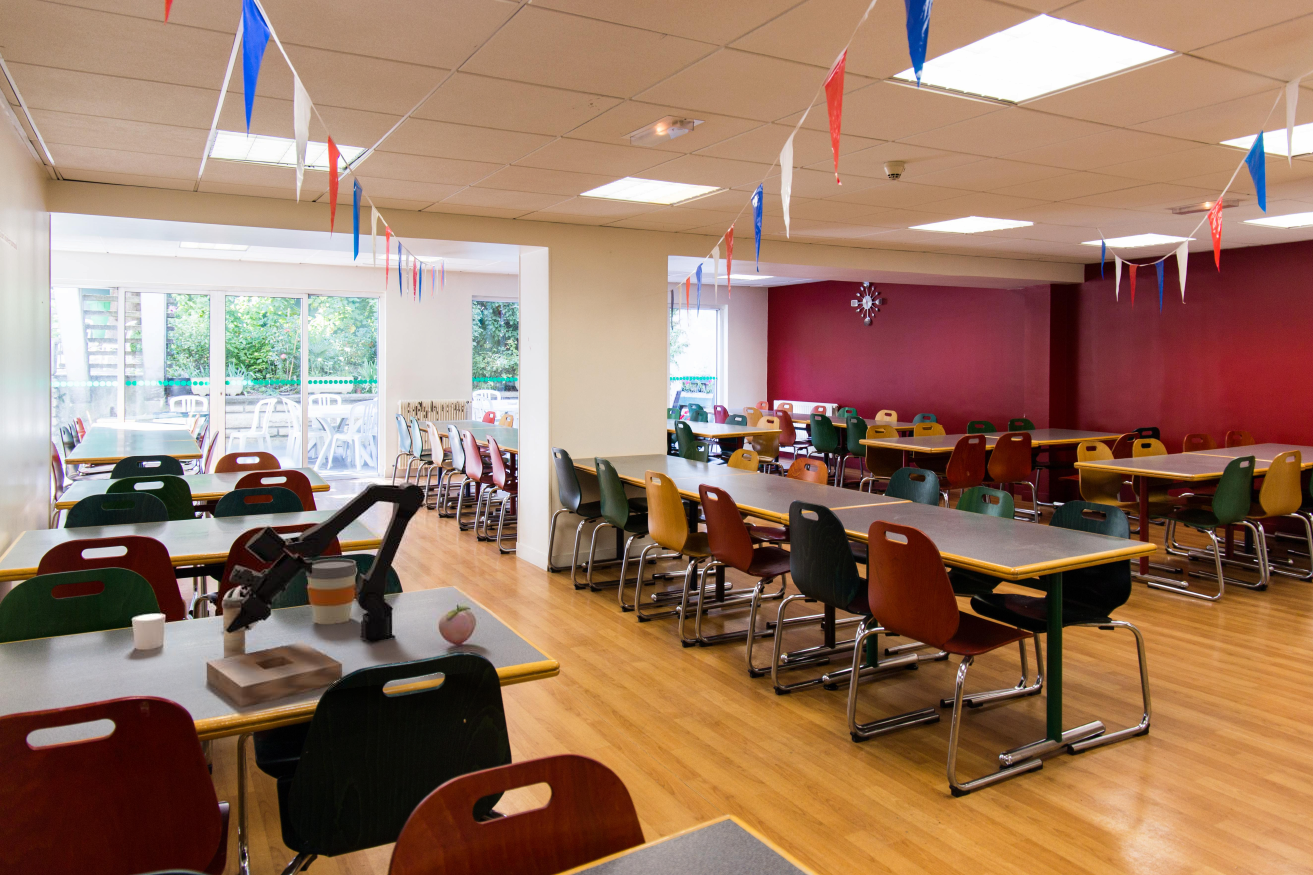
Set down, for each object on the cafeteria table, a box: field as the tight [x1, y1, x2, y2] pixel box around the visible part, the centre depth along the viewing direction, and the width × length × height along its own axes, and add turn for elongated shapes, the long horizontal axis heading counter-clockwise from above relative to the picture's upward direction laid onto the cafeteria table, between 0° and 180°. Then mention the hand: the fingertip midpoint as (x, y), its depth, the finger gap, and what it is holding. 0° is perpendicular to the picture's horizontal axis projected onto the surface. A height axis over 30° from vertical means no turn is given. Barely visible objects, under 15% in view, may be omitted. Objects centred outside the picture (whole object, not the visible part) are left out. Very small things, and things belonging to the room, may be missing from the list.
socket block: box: [206, 641, 343, 708], centre depth 179 cm, size 20×20×4 cm
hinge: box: [221, 585, 259, 629], centre depth 223 cm, size 17×5×10 cm, turn 11°
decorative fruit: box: [438, 604, 477, 646], centre depth 205 cm, size 9×8×10 cm
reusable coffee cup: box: [305, 558, 358, 625], centre depth 225 cm, size 13×13×15 cm
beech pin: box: [222, 597, 246, 658], centre depth 195 cm, size 4×4×13 cm
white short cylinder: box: [131, 612, 166, 651], centre depth 201 cm, size 7×7×7 cm
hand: (227, 627), depth 194 cm, fingers open, 7 cm apart
